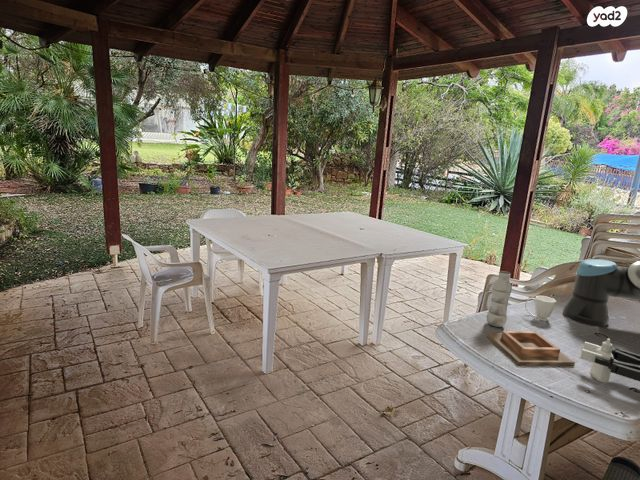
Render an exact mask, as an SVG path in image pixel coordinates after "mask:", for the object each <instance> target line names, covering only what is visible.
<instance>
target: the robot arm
mask: <svg viewBox="0 0 640 480" xmlns="http://www.w3.org/2000/svg"><path fill="white" fill-rule="evenodd" d="M610 297H614V298H621V299H628V300H634V301H640V261H636V262H633V263H631V264H630V265H629V266H627V267H625V266H618V264H617V263H616V262H614V261H611V260H605V259H599V258H598V259H596V258H595V259H594V258H593V259H583V260H582V261H581V262H580V263H579V264H578V267H577V270H576V276H575V280H574V284H573V289H572V293H571V296H570V298H569V299H568V301H567V303H566V304H565V305H564V306H563V310H562V315H563V316H565V317H566V318H567V319H569V320H571V321H573V322H576V323H580V324H583V325H587V326H592V327H593V326H594V327H605V326H608V324H609V321H610V316H609V309H608V302H609V298H610ZM601 346H602V345H598V344H595V343H591V342H588V341H584V344H583V348H582V349H581V353H580V356H579V358H580V360H584V361H587V362H591V363H596V364H599V365H602V366H605V367H608V368H609V369H611V373H613V374H615V375H619V376H621V377H625V378H628V379H632V380H635V381H638V382H640V354H639V353H635V352H632V351H629V350H625V349H622V348H618V347H614V349H613V348H612V350H611V353H612V355H613V357H614V358H613V357H611V358H610V357H607V356H604V355H601V354H598V353H595V351H596V349H598V348H601ZM609 360H610V361H609Z"/></svg>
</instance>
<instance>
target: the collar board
mask: <svg viewBox="0 0 640 480" xmlns="http://www.w3.org/2000/svg"><path fill="white" fill-rule="evenodd" d="M486 337H487V339H488V340H490V341H491V342H492V343H493V344H494V345H495V346H496V347H498V349H500V351H501V352H503V353H504V354H505V355H506V356H507V357H508V358H509V359H510V360H511V361H513V362H514V363H515V364H516V365H517V366H518V367H519V366H521V367H522V366H523V367H524V366H525V367H528V366H530V367H531V366H532V367H533V366H534V367H540V366H541V367H542V366H543V367H547V366H548V367H574V366H575V363H576V362H575V361H574V360H573V359H571V358H569V356H568V355H566V354H564V353H563V352H562V351H561V348H559V347H558V346H556V345H555V344H554V343H553V342H551V341H549V340H548V339H547V338H546V337H544V336H543V335H542V334H540V333H538V332H537V331H535V330H534V331H532V330H530V331H527V330H522V331H521V330H515V331H514V330H502V331H501V333H487V335H486Z"/></svg>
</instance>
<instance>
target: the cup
mask: <svg viewBox="0 0 640 480" xmlns="http://www.w3.org/2000/svg"><path fill="white" fill-rule="evenodd" d="M530 300H533V301H535V308H534V309H535V314H533V313H532V312H531V311H530V310H529V308H527V304H528V302H529V301H530ZM556 304H557V300H556V299H555V298H553V297H549V296H546V295H536V296H535V297H530V298H528V299H526V301H525V303H524V308H525V310H526V311H527V313H529V314H530V315H531V316H533V317H534V318H536V319H538V320H540V321H545V322H546V321H549V318H550V317H551V315H552V313H553V312H554V311H553V310H555V309H554V308H555V306H556Z"/></svg>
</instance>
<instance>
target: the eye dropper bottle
mask: <svg viewBox="0 0 640 480" xmlns="http://www.w3.org/2000/svg"><path fill="white" fill-rule="evenodd" d="M600 346H601V348H598V349H596V351H595V353H598V354H601V355H604V356H607V357H610V358H611V357H613V355H612V353H611V350H612V349H613V347H614V345H613V344H612V343H611V339H610V338H606V340H605V341H602V342H601V345H600ZM613 358H614V357H613ZM609 361H610V360H609ZM591 363H592V364H591V367H590V375H591V376H592V378H594V379H595V380H597V381H598V382H601V383H608V382H609V380H610V377H611V373H612V372H611V369H609V368H608V367H605V366H602V365H599V364H596V363H593V362H591Z"/></svg>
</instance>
